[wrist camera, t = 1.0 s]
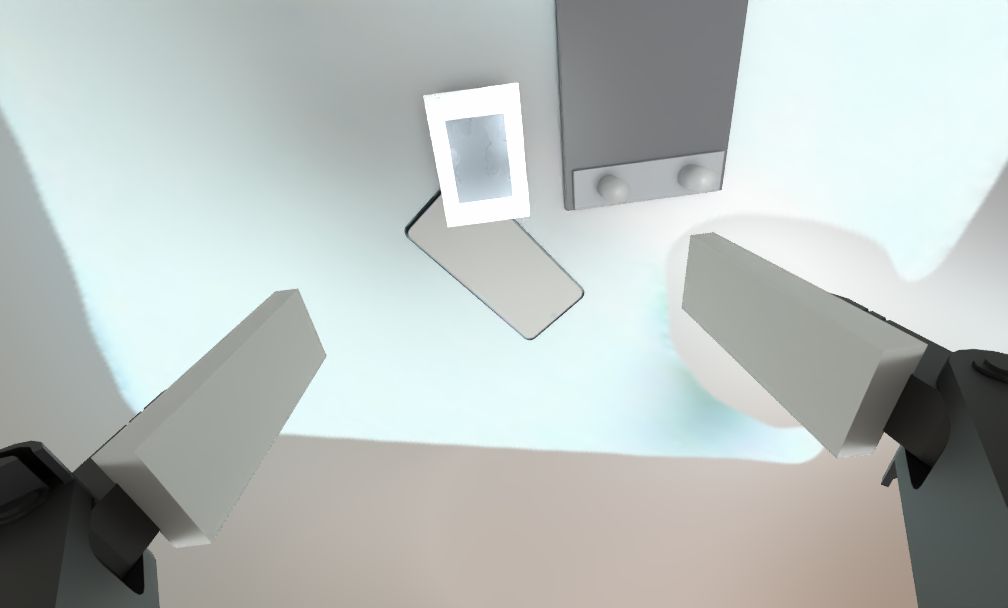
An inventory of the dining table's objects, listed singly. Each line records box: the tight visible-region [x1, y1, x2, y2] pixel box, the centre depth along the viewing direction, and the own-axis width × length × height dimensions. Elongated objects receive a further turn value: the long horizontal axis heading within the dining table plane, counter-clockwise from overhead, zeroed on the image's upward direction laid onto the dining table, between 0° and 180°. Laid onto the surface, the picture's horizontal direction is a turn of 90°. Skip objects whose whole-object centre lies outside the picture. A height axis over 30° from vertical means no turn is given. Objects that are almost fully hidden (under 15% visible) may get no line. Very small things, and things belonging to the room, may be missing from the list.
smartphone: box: [405, 188, 584, 340], centre depth 31 cm, size 7×1×15 cm
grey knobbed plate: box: [556, 0, 748, 211], centre depth 24 cm, size 16×12×4 cm
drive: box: [423, 83, 530, 227], centre depth 24 cm, size 7×5×7 cm
